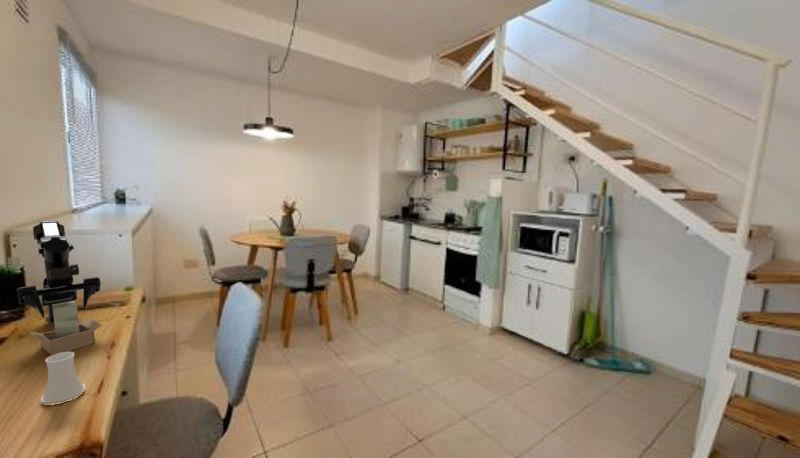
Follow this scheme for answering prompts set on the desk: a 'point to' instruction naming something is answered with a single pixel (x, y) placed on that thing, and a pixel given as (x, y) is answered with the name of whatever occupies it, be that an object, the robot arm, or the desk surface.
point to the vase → (61, 379)
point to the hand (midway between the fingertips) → (64, 312)
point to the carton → (68, 338)
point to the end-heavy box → (65, 319)
